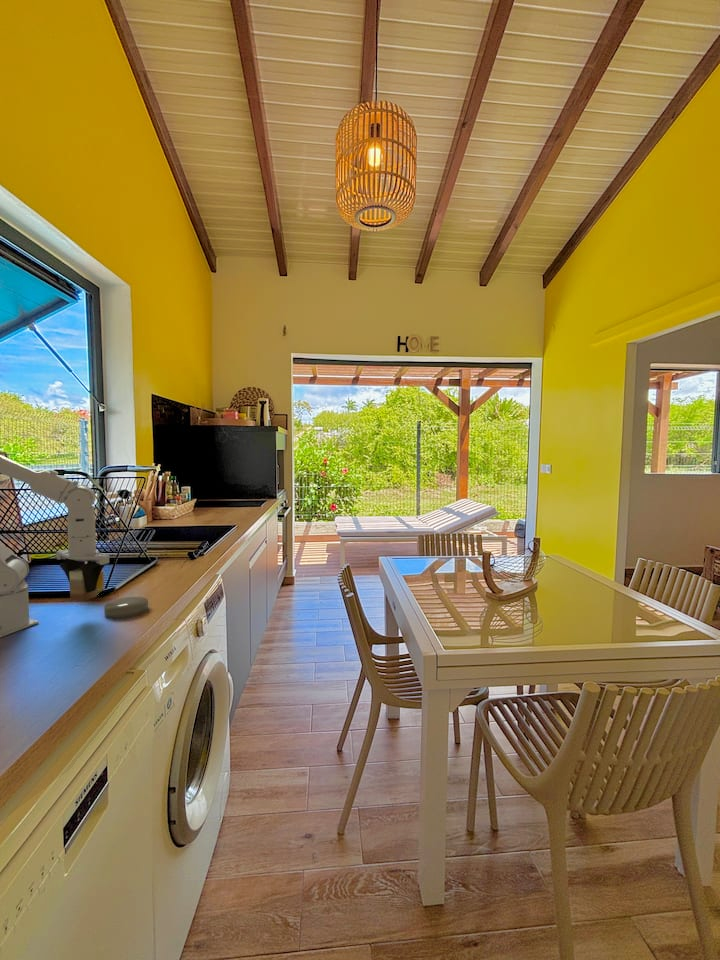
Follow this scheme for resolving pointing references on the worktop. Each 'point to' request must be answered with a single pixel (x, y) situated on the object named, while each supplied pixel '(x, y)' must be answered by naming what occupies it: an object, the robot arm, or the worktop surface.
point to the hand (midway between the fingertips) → (83, 590)
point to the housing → (79, 587)
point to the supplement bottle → (100, 582)
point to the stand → (126, 607)
